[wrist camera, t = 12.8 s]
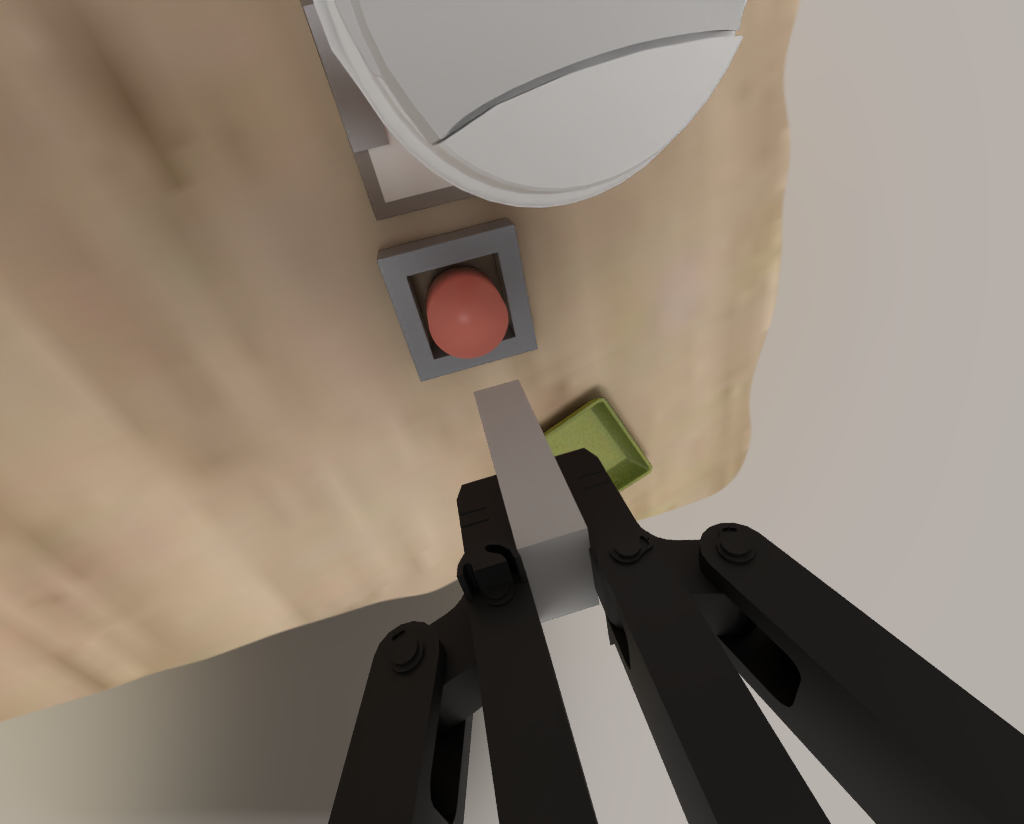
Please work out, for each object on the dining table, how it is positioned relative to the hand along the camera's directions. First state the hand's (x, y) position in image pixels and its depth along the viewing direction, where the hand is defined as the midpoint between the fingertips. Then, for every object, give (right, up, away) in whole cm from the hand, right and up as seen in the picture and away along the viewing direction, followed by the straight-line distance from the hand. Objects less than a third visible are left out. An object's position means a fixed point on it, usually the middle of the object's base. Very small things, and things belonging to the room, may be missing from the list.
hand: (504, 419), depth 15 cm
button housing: (-3, +7, +11) cm, 13 cm away
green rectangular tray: (+5, -3, +19) cm, 20 cm away
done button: (-3, +6, +10) cm, 12 cm away
